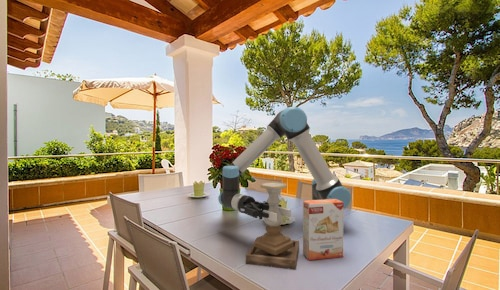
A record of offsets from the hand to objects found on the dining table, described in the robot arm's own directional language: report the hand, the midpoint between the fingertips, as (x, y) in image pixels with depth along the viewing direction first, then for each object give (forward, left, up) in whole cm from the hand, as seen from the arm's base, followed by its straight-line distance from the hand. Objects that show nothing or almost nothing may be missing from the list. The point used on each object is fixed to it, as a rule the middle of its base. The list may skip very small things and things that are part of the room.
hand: (283, 215), depth 93 cm
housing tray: (+4, -3, -16) cm, 17 cm away
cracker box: (-14, -7, -17) cm, 23 cm away
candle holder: (+4, -3, -13) cm, 14 cm away
